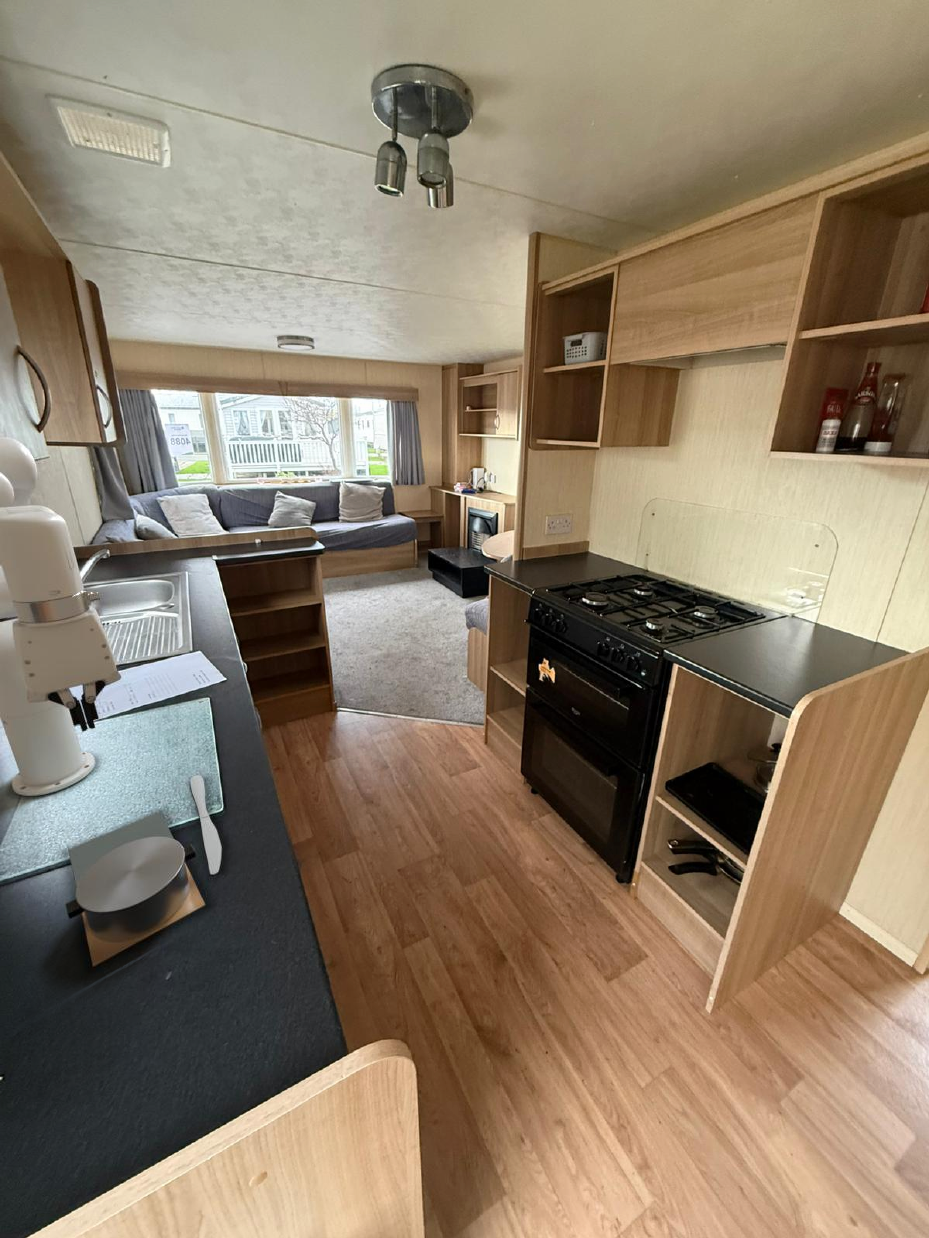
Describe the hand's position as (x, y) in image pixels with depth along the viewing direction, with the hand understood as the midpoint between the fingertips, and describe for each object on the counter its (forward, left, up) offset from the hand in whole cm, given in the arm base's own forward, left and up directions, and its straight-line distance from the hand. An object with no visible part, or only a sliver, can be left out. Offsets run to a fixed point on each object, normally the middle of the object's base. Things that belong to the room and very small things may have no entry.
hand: (87, 725), depth 73 cm
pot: (+15, 0, -22) cm, 26 cm away
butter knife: (+3, +12, -22) cm, 25 cm away
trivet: (+15, 0, -22) cm, 27 cm away
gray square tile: (+2, 0, -22) cm, 22 cm away
